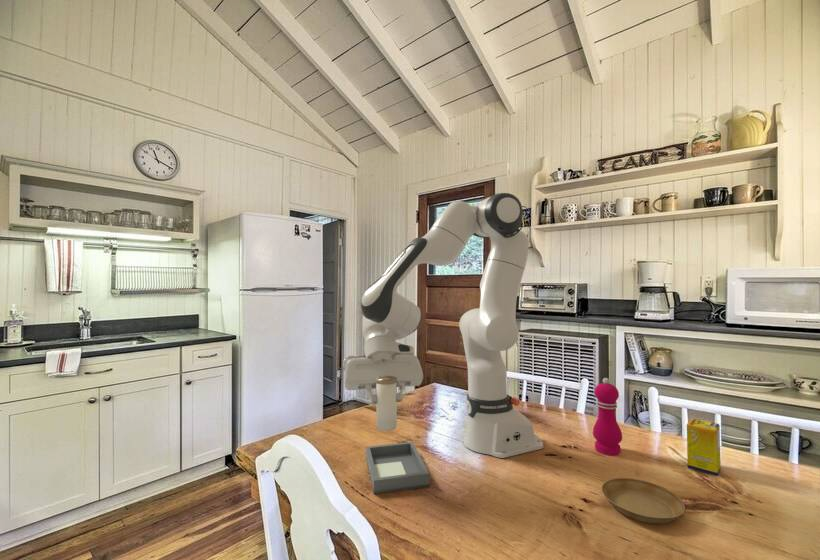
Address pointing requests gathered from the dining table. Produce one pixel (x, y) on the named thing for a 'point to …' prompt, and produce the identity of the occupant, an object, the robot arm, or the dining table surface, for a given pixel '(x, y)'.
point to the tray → (396, 467)
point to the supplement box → (703, 446)
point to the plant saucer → (643, 500)
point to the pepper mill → (607, 420)
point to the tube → (386, 403)
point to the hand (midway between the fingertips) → (386, 401)
